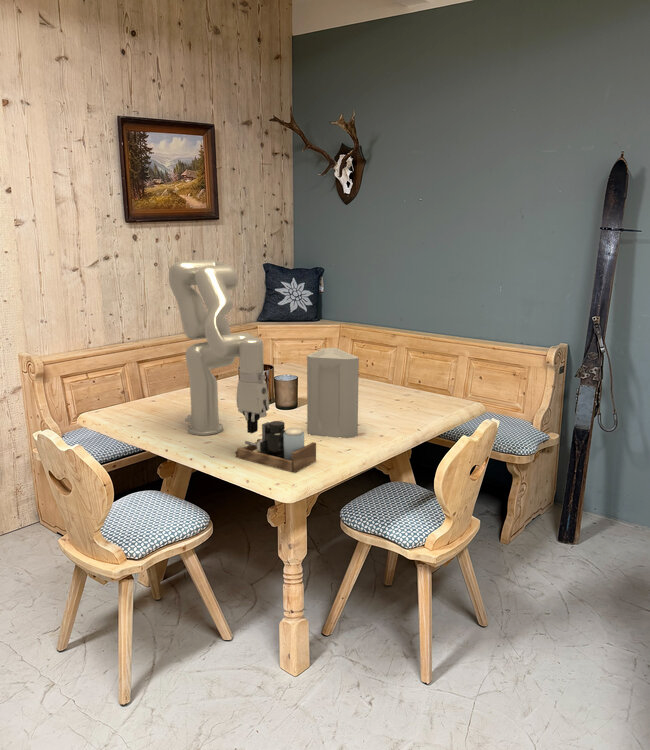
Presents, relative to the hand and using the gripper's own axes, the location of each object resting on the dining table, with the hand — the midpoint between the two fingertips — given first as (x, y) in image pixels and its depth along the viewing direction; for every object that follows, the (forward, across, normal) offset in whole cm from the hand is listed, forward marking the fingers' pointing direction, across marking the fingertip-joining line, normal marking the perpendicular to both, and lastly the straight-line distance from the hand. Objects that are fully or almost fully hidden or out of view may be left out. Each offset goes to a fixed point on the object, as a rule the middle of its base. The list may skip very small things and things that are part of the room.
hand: (252, 431), depth 213 cm
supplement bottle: (+7, -10, 0) cm, 12 cm away
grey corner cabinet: (+8, -8, -32) cm, 34 cm away
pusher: (+7, -2, 0) cm, 7 cm away
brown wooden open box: (+7, -9, 0) cm, 12 cm away
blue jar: (+7, -16, 0) cm, 18 cm away
